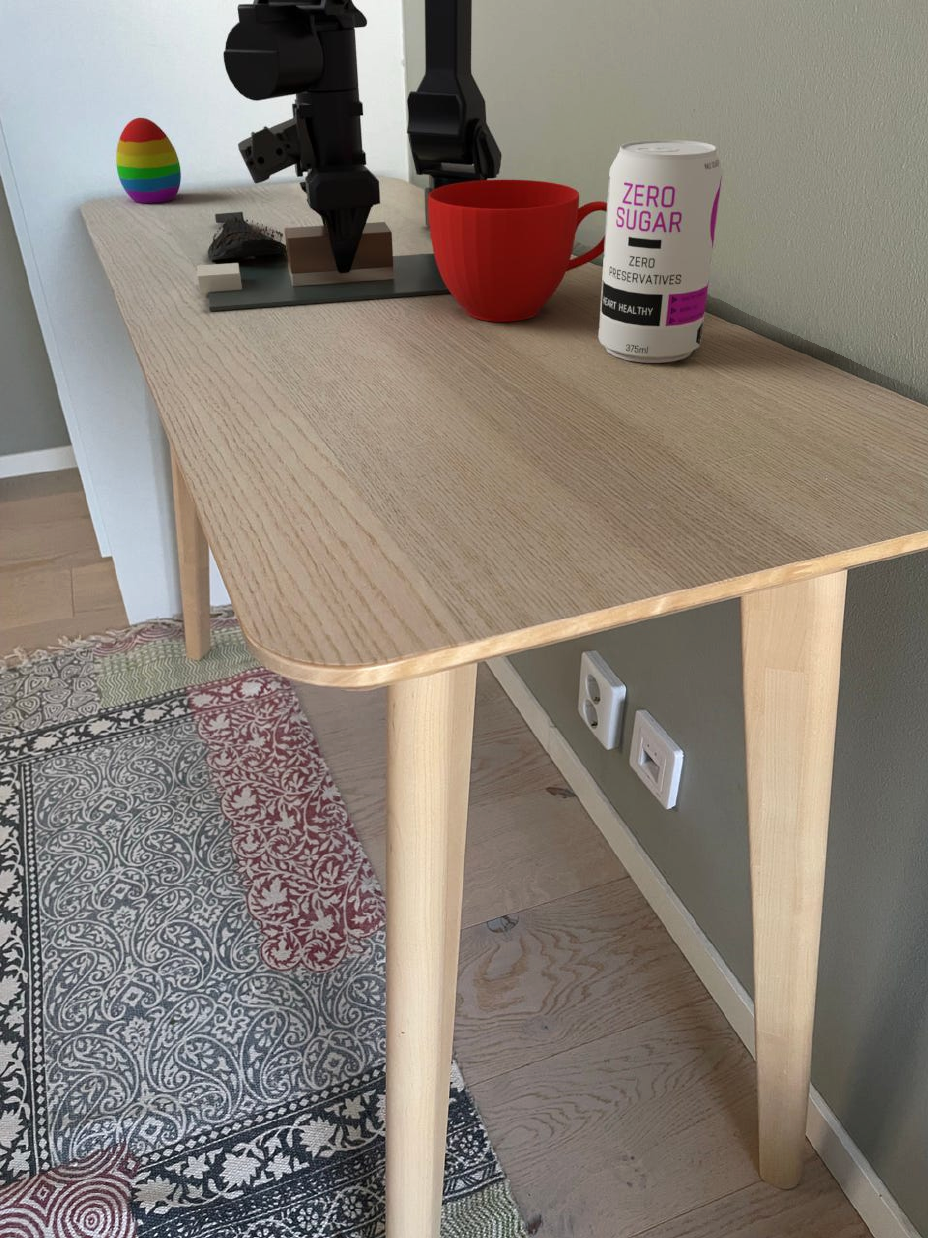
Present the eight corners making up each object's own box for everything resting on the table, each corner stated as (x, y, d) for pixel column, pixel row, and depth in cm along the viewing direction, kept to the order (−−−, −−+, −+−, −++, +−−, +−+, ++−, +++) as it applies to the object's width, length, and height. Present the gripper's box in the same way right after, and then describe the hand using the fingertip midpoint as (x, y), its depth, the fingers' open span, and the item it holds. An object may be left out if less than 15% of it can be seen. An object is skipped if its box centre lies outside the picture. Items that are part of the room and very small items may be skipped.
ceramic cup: (635, 324, 85) (646, 201, 79) (445, 338, 82) (442, 212, 77) (590, 284, 96) (596, 174, 90) (420, 296, 93) (416, 183, 87)
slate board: (435, 256, 105) (435, 252, 105) (463, 292, 94) (463, 287, 94) (208, 272, 101) (208, 268, 101) (209, 311, 90) (209, 306, 89)
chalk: (240, 279, 97) (238, 262, 96) (242, 289, 94) (240, 272, 93) (200, 281, 97) (197, 265, 96) (200, 292, 93) (197, 275, 92)
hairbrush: (257, 195, 120) (291, 227, 100) (261, 226, 122) (295, 264, 101) (189, 200, 118) (209, 234, 97) (194, 232, 120) (215, 272, 99)
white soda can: (686, 331, 83) (709, 137, 75) (710, 364, 76) (738, 155, 68) (591, 333, 83) (604, 139, 75) (606, 367, 76) (622, 157, 68)
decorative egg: (123, 195, 135) (108, 115, 130) (183, 191, 137) (171, 112, 132) (122, 207, 129) (106, 123, 123) (186, 203, 131) (172, 119, 125)
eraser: (387, 267, 100) (384, 221, 98) (394, 279, 96) (391, 231, 94) (289, 274, 98) (284, 227, 96) (292, 286, 95) (287, 238, 92)
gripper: (234, 81, 94) (255, 249, 103) (239, 103, 79) (263, 298, 88) (348, 77, 96) (359, 242, 105) (375, 98, 81) (385, 289, 90)
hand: (341, 266), depth 97 cm, fingers closed on eraser, 4 cm apart
